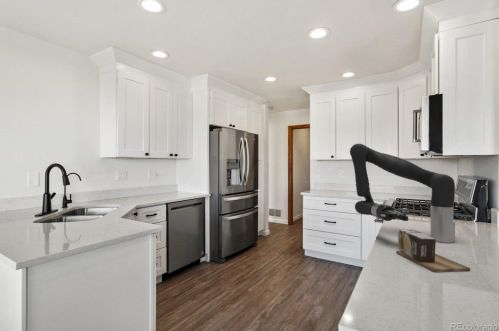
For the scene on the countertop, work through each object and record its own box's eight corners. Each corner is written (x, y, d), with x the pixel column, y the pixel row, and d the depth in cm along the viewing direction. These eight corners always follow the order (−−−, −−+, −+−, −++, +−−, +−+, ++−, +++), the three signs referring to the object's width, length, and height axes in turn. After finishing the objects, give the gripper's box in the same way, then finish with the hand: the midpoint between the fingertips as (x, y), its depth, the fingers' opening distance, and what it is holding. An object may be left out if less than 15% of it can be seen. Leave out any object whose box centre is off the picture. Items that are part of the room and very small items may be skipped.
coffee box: (397, 228, 114) (417, 237, 98) (413, 228, 114) (436, 238, 98) (397, 249, 114) (417, 262, 98) (413, 249, 114) (435, 263, 98)
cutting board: (426, 252, 113) (426, 250, 113) (470, 271, 93) (470, 268, 93) (396, 253, 111) (396, 251, 111) (434, 272, 92) (434, 269, 92)
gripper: (370, 204, 132) (392, 210, 114) (394, 204, 133) (420, 210, 116) (370, 219, 132) (392, 227, 114) (394, 219, 133) (420, 227, 116)
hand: (406, 218), depth 115 cm, fingers closed
